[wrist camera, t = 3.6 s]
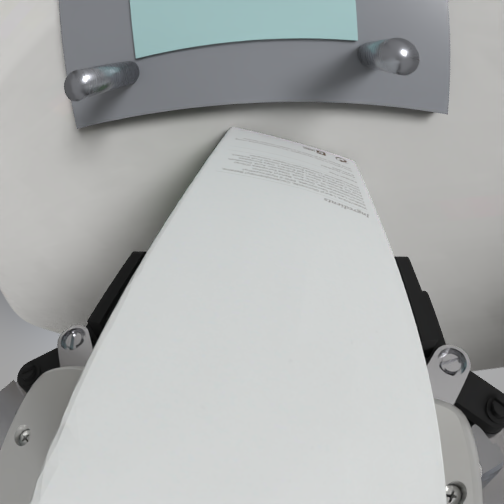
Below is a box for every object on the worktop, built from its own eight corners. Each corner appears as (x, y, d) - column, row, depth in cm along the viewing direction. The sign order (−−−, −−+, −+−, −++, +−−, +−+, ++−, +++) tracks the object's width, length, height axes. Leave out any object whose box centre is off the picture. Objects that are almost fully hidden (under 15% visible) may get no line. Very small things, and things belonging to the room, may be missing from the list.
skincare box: (231, 121, 14) (-19, 517, 1) (365, 161, 14) (479, 570, 1) (205, 259, 19) (106, 532, 6) (311, 287, 19) (294, 568, 6)
